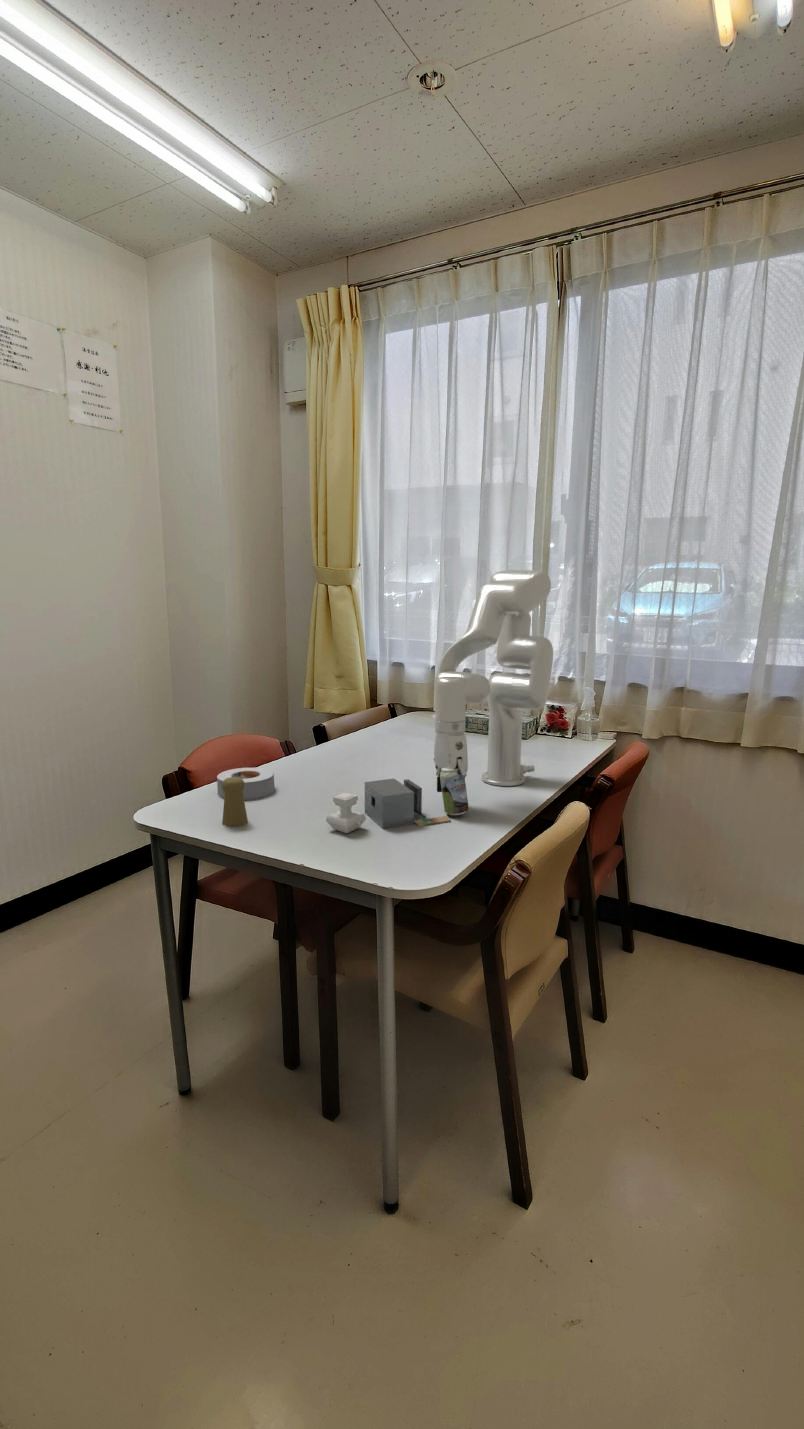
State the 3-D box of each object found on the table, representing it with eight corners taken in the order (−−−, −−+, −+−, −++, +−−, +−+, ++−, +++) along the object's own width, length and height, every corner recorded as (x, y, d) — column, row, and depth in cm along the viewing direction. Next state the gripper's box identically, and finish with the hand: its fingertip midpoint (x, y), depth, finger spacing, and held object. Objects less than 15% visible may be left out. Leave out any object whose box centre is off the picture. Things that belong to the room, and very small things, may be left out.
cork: (234, 828, 154) (232, 783, 152) (216, 823, 157) (214, 779, 155) (253, 820, 159) (251, 777, 157) (235, 816, 162) (233, 773, 160)
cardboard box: (445, 817, 161) (445, 815, 161) (450, 821, 159) (450, 819, 159) (413, 822, 158) (413, 820, 158) (419, 826, 155) (419, 824, 155)
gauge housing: (394, 808, 168) (394, 778, 166) (413, 824, 157) (413, 792, 155) (364, 812, 165) (364, 782, 163) (382, 829, 154) (382, 796, 152)
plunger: (408, 803, 167) (408, 779, 166) (427, 817, 157) (427, 792, 156) (375, 808, 163) (375, 783, 162) (392, 823, 153) (392, 796, 152)
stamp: (370, 829, 153) (369, 795, 152) (351, 838, 148) (350, 803, 147) (341, 821, 159) (340, 788, 157) (322, 829, 153) (321, 795, 152)
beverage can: (464, 819, 159) (464, 772, 157) (435, 815, 162) (435, 769, 160) (472, 810, 165) (472, 765, 162) (444, 807, 168) (444, 762, 165)
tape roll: (233, 782, 190) (232, 765, 189) (283, 785, 187) (282, 768, 186) (207, 798, 175) (206, 780, 174) (261, 802, 172) (260, 784, 171)
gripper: (481, 732, 157) (479, 803, 160) (447, 718, 172) (446, 784, 176) (453, 735, 154) (451, 808, 158) (421, 720, 169) (421, 787, 173)
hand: (449, 794), depth 167 cm, fingers open, 6 cm apart
